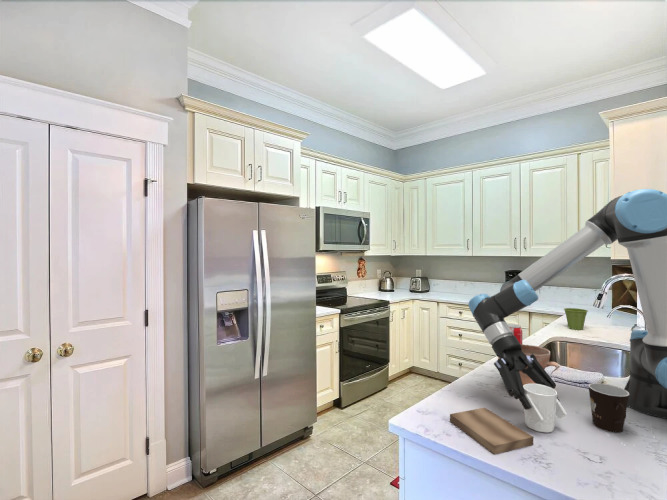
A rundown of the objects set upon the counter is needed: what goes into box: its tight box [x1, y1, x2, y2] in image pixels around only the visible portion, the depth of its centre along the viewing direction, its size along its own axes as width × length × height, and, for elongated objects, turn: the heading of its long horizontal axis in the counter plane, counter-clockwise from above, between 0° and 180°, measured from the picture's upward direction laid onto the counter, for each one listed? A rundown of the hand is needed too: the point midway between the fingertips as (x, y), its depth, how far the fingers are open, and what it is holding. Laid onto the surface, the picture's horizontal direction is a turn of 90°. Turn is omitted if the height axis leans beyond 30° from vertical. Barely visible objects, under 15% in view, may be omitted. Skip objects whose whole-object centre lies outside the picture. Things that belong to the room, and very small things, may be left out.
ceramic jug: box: [497, 343, 559, 390], centre depth 117 cm, size 18×14×14 cm
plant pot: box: [563, 307, 589, 331], centre depth 204 cm, size 12×12×11 cm
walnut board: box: [449, 407, 534, 455], centre depth 90 cm, size 12×16×2 cm
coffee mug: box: [588, 382, 629, 434], centre depth 92 cm, size 12×9×10 cm
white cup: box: [523, 384, 558, 433], centre depth 93 cm, size 8×8×10 cm
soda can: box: [507, 323, 523, 344], centre depth 159 cm, size 7×7×12 cm
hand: (551, 418), depth 90 cm, fingers closed on white cup, 8 cm apart
